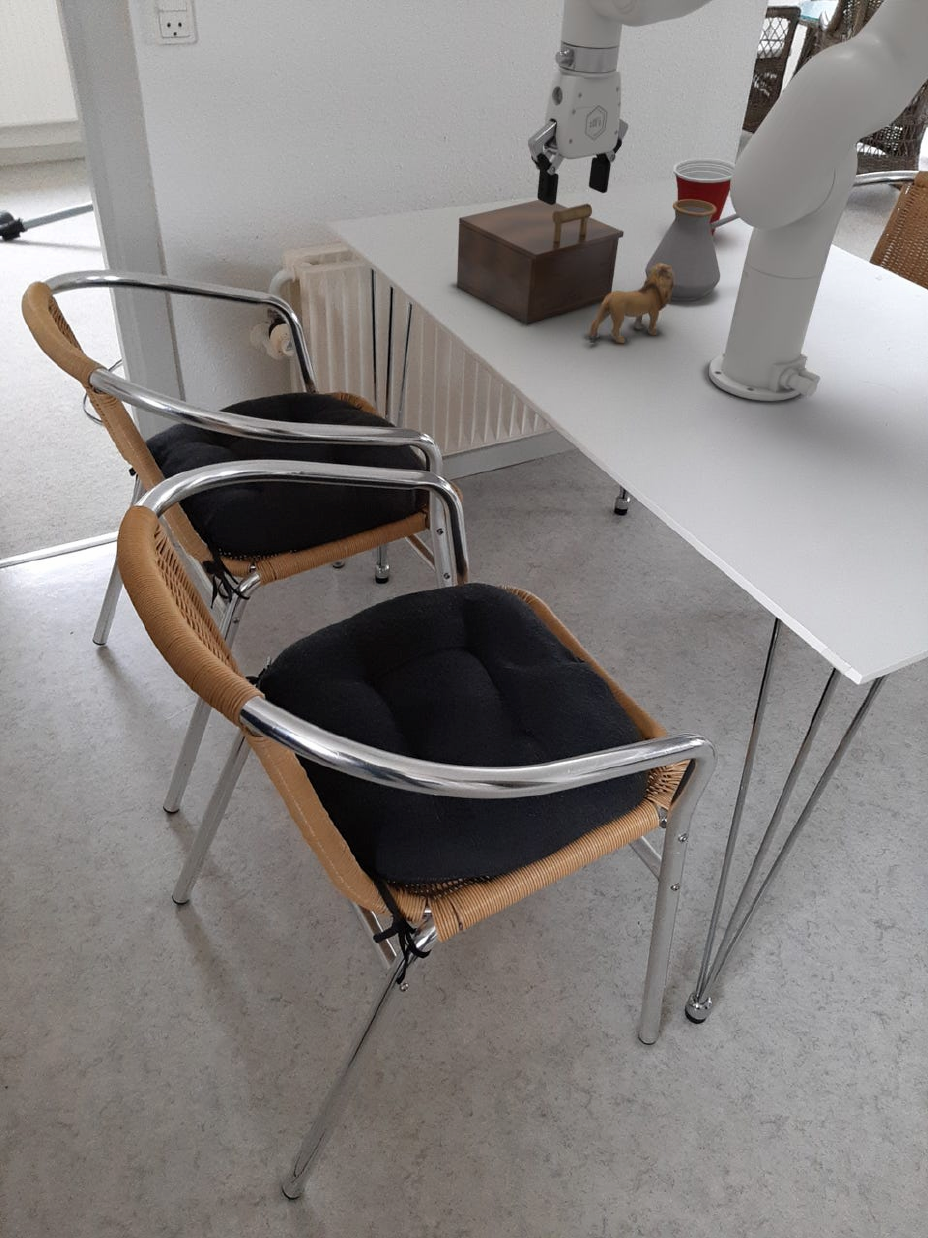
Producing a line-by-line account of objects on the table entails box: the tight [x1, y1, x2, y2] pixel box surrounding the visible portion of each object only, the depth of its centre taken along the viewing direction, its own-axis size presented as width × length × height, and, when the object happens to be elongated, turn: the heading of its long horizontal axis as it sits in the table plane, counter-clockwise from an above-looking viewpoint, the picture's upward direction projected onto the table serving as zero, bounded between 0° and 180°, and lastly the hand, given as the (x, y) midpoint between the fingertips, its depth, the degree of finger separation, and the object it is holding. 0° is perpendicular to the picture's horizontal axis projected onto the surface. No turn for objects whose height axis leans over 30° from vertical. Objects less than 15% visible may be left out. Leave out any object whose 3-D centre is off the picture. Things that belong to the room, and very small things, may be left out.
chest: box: [456, 223, 620, 325], centre depth 151 cm, size 16×17×10 cm
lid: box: [458, 199, 625, 260], centre depth 146 cm, size 17×17×5 cm
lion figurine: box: [588, 263, 675, 344], centre depth 140 cm, size 15×5×9 cm, turn 129°
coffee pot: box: [644, 199, 741, 302], centre depth 152 cm, size 21×12×15 cm, turn 98°
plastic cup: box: [673, 157, 736, 237], centre depth 170 cm, size 11×11×12 cm
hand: (572, 195), depth 140 cm, fingers open, 9 cm apart
